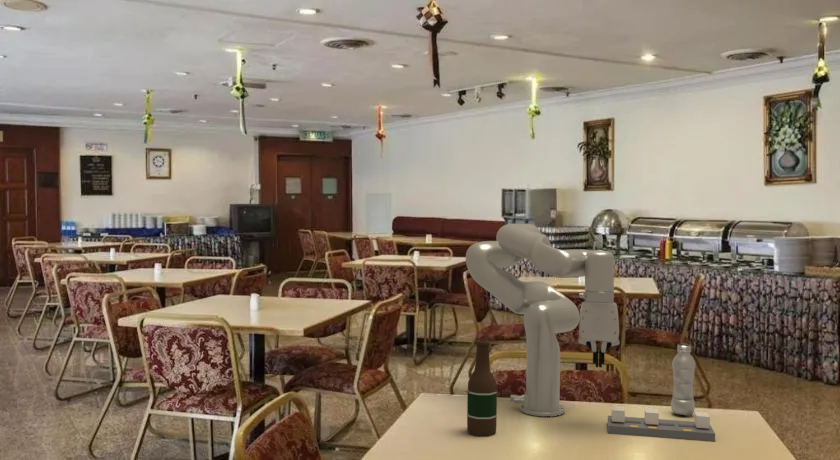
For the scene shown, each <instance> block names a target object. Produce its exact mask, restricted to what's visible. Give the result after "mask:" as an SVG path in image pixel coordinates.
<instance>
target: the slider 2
mask: <svg viewBox="0 0 840 460" xmlns="http://www.w3.org/2000/svg"><path fill="white" fill-rule="evenodd" d="M659 415H660V414H659V411H658V408H649V407H645V408H644V415H643V416H644V417H643V418H644V420H645V423H646V424H654V425H658V424H659V417H660V416H659Z"/></svg>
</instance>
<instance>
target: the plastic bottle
mask: <svg viewBox="0 0 840 460" xmlns="http://www.w3.org/2000/svg"><path fill="white" fill-rule="evenodd" d="M676 346H677V348H676V352H677V353H676V355H675V356H674V357H673V359H672V361H671V367H672V375H673V386H672V387H673V388H672V396H671V397H672V398H671V402H670V408H671V409H670V410H671V411H672V413H673V414H674V415H679V416H682V415H684V416H692V415H694V412H695V407H696V406H695V405H696V404H695V399H694V378H695V371H696V360H695V359H694V357H693V356H692V355H691V352H692V350H691V349H692V346H691V344H688V343H678V344H677V345H676ZM684 416H683V417H684Z"/></svg>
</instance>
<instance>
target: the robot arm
mask: <svg viewBox="0 0 840 460" xmlns="http://www.w3.org/2000/svg"><path fill="white" fill-rule="evenodd" d="M495 236H496V238H495V239H496V240H486V241H479V242H476V243H474V244H472V245H470V246H469V247H468V249H467V250H466V253H465V265H466V268H467V270H468V273H469V275H470V277H471V278H472V279H473V281H475V282H476V283H477V285H479V286H480V287H482V288H483V289H484V290H486V291H487V292H488V293H490V294H491V295H492V296H494V298H495V299H497V300H498V301H499V302H500V303H501V304H503V305H504V306H505V307H506V308H508V309H509V310H510V311H511V312H512V313H514V314H515V315H516V314H517V315H523V324H524V325H523V326H524V332H525V339H526V371H525V372H526V374H525V375H526V376H525V377H526V378H525V379H526V380H525V383H526V384H525V393H524V394H523V393H522V394H521V395H518V394H511V395H510V402H513V403H514V404H520V412H522V413H524V414H526V415H529V414H530V415H531V416H536V417H545V416H546V417H547V416H550V417H558V416H557V415H559V416H561V414H562V415H564V414H565V413H564V412H566V408H565V407H564V406H563V405H561V404H560V401H561V399H560V394H561V392H560V390H561V387H560V386H561V347H560V343H559V341H558V338H557V336H556V334H559V333H560V334H561V333H567V332H570V331H572V330H574V329H576V328H577V326H578V329H579V330H578V331H579V332H578V335H579V337H578V339H577V340H578V341H577V342H578V344H580V345H584V346H587V347H588V348H589V349H590V351H591V352H592V364H595V368H602V366H603V365H605V357H606V355H605V353H606V352H607V350H609V349H610V348H611V347H615V346H619V345H620V343H621V342H620V339H619V336H620V327H619V326H620V325H619V321H620V320H619V310H618V305H617V303H616V302H614V300H615V298H614V297H615V296H614V295H615V292H614V291H615V289H614V288H615V286H614V285H615V256H614V253H613V252H611V251H606V250H605V251H604V250H590V249H582V248H581V249H559V248H556V247H553V246H551V242H550V239H549V237H548V236H547V235H546V234H544V233H541V230H540V229H539V228H538V227H537V226H536V225H534V224H532V223H508V224H504V225H503V226H501V227H500V228H499V229H498V231H497V233H496V235H495ZM524 259H525V260H527V261H530V262H531V263H532V265H533V266H534V267H535V268H536V270H538V271H540V272H543V273H545V274H547V275H551V276H553V277H556V278H562V279H564V278H565V279H566V278H567V279H568V278H582V277H583V278H584V291H582V292H579V293H578V294H579V295H578V298H580V299H583V300H584V301H582V302H581V306H580V311H579V309H578V307H577V305H576V304H575V303H574V302H573V301H572V300H571V299H570V298H568V297H567V296H565V295H564V294H562V293H561V292H560V291H559V290H557V288H555V287H554V286H552V285H551V284H549V283H547V282H544V281H539V280H538V281H522V280H520V279H518V278H517V277H515V276H514V275H513V274H512V273H510V272H509V271H507V270H505V268H510V267H513V266H514V265H516V264H519V262H521V261H523V260H524ZM502 268H504V269H502ZM597 342H601V346H600V348H599V349H598V347H597ZM598 350H599V351H598ZM563 413H564V414H563Z"/></svg>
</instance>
